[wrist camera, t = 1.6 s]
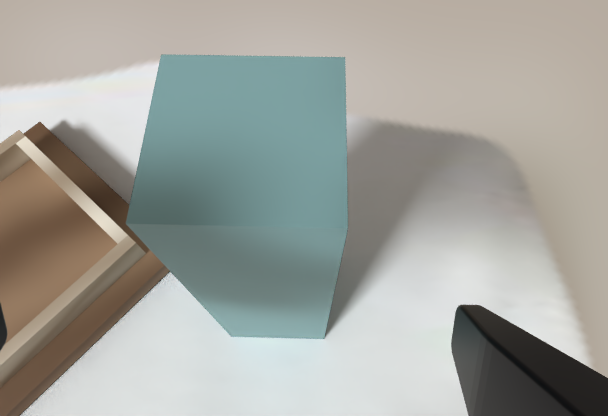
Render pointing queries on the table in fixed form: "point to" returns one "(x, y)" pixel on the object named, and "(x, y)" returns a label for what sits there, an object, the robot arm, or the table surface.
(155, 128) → the column block
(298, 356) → the table surface
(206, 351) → the table surface
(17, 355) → the base plate
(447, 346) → the table surface
